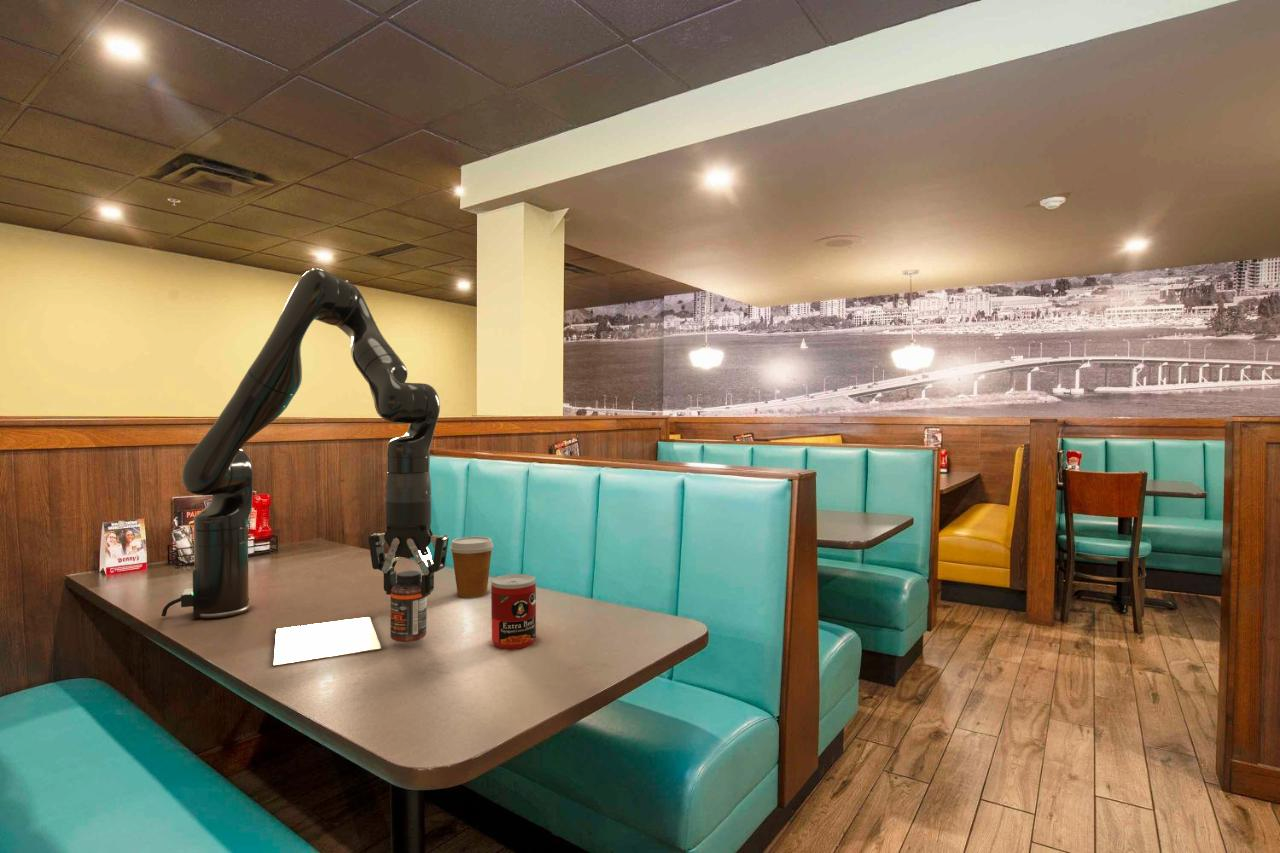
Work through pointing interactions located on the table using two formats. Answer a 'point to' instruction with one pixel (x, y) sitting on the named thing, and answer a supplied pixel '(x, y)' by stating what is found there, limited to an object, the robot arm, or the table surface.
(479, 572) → the disposable coffee cup
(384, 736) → the table surface
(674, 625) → the table surface
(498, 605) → the canned food
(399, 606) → the supplement bottle
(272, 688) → the table surface
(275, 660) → the placemat
